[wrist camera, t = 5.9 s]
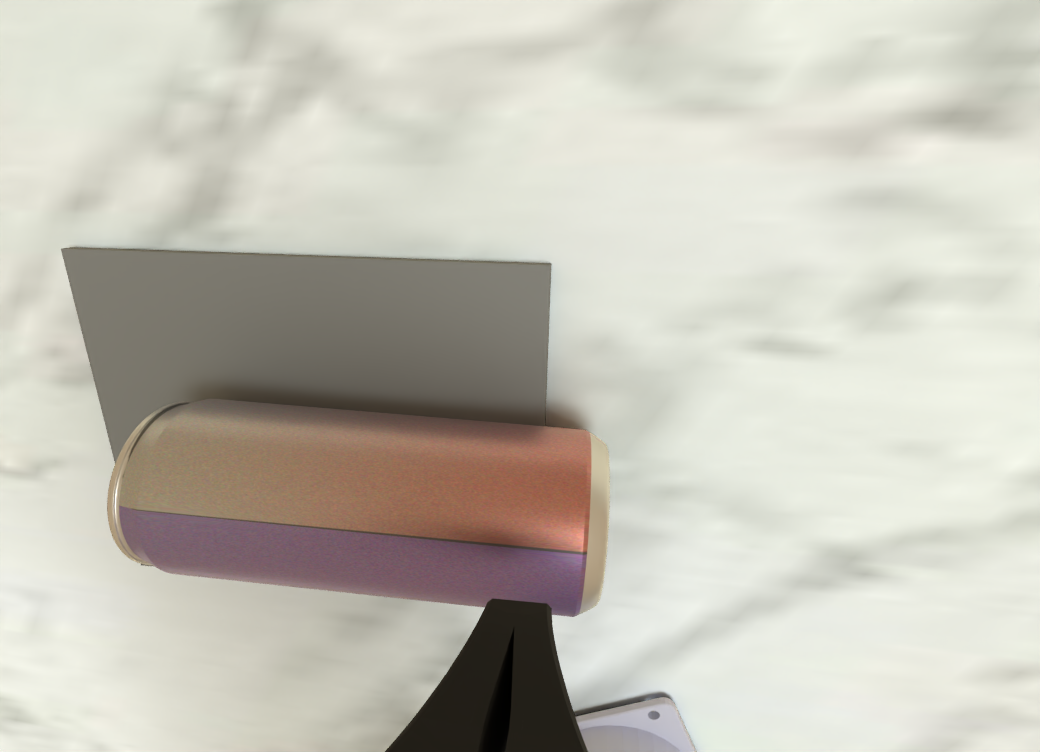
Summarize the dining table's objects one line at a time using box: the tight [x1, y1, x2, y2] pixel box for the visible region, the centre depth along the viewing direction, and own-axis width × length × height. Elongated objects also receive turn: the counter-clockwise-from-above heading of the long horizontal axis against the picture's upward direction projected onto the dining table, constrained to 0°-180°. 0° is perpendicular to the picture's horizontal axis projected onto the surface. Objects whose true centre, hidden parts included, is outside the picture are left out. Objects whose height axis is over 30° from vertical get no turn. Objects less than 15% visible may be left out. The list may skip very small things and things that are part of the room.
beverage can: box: [107, 399, 610, 617], centre depth 18 cm, size 6×6×15 cm
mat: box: [61, 247, 551, 566], centre depth 22 cm, size 18×14×1 cm
